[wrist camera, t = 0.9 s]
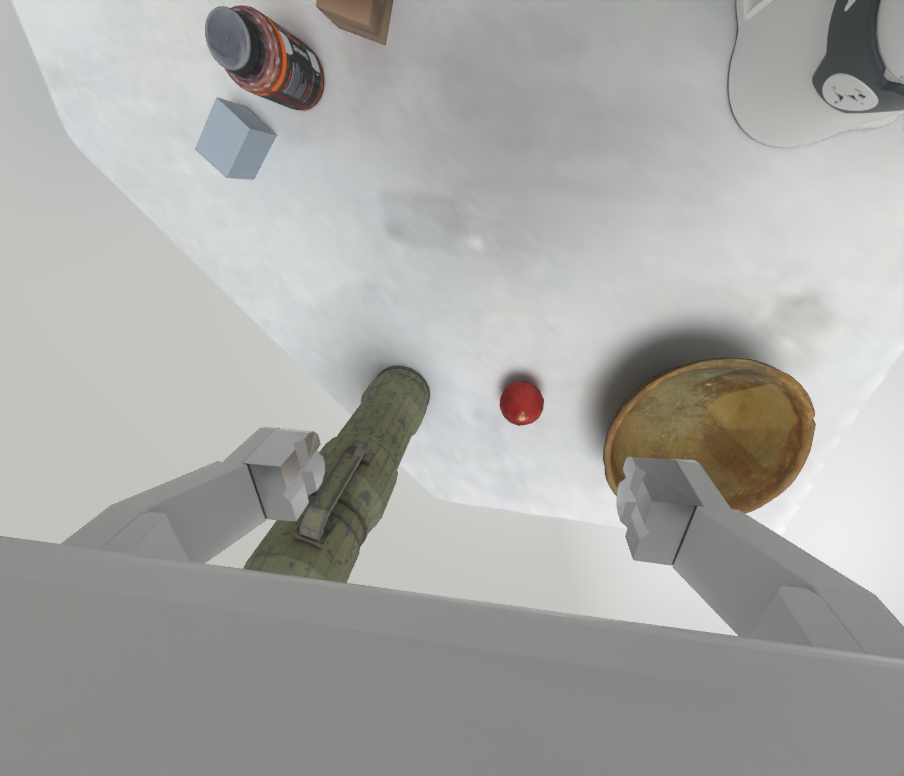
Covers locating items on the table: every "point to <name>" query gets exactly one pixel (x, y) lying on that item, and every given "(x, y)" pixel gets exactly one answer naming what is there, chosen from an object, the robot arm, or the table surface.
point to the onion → (521, 403)
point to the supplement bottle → (264, 57)
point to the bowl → (718, 427)
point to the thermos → (349, 483)
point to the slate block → (234, 140)
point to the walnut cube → (360, 16)
